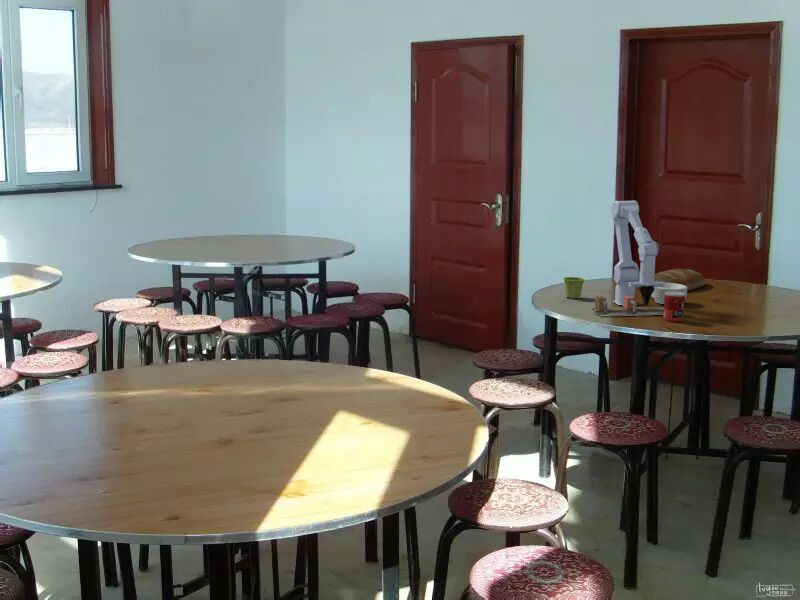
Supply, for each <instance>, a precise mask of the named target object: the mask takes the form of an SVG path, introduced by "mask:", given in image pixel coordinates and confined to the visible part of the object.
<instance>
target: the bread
mask: <svg viewBox="0 0 800 600" xmlns="http://www.w3.org/2000/svg"><path fill="white" fill-rule="evenodd" d="M654 282H665V283H675V284H681V285H685V286H686V287H687V292H689V290H690V291H693V289H694V290H696V289H699V288H701V287H703V286H705V284H706V282H707V280H706V278H705V276H704V275H703V274H702V273H700V272H698V271H696V270H693V269H684V268H674V269H667V270H665V271H659V272H657V273H655V274H654Z"/></svg>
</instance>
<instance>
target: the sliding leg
mask: <svg viewBox="0 0 800 600" xmlns="http://www.w3.org/2000/svg"><path fill="white" fill-rule="evenodd" d="M636 304H637V301H636V298H633V297H632V296H624V303H623V306H622V307H625V308H626V309H633V312H636V307H637V306H636Z"/></svg>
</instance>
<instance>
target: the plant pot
mask: <svg viewBox="0 0 800 600" xmlns="http://www.w3.org/2000/svg"><path fill="white" fill-rule="evenodd" d="M562 280H563V282H564V287H565V288H564V289H565V298H566V297H570V298H578V299H580V298H581V295H582V290H583V285H584V282H585V278H584V277H578V276H565V277H563V278H562ZM579 297H580V298H579ZM570 298H569V299H570Z"/></svg>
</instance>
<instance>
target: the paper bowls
mask: <svg viewBox="0 0 800 600" xmlns="http://www.w3.org/2000/svg"><path fill="white" fill-rule="evenodd" d="M654 288H655V290H654V292H653V293H652V295H651V297H652V298H653V299H654V302H655V303H656V304H658V303H659V305H661V304H664V299H665V292H670V291H675V292H683V293H685V299H687V295H688V291H687V287H686V286H685V285H681V284H675V283H665V287H654ZM651 297H650V298H651Z"/></svg>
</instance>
